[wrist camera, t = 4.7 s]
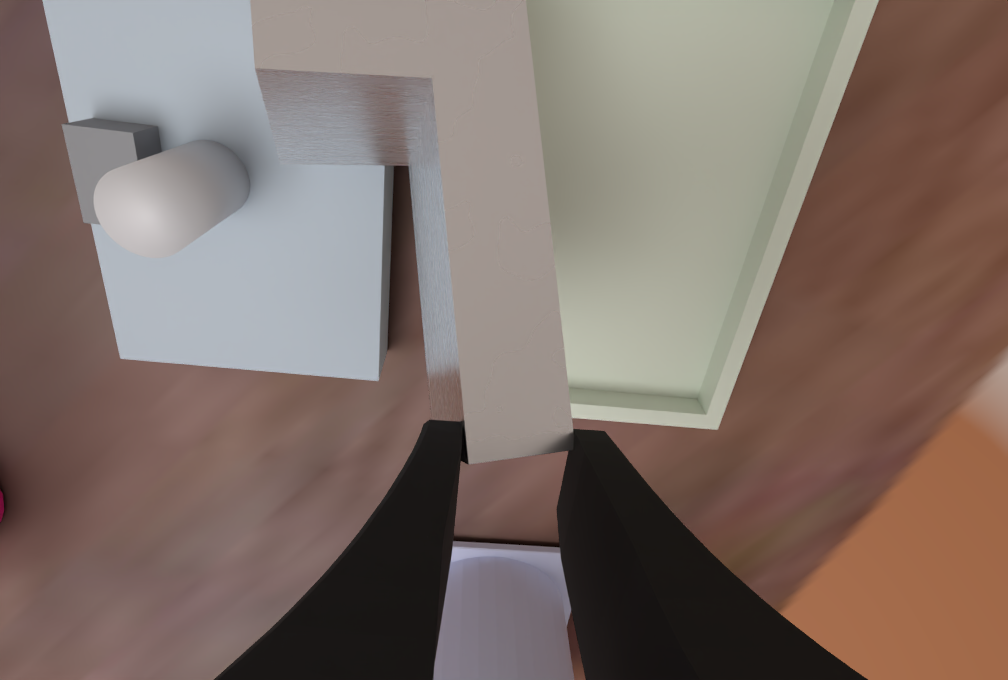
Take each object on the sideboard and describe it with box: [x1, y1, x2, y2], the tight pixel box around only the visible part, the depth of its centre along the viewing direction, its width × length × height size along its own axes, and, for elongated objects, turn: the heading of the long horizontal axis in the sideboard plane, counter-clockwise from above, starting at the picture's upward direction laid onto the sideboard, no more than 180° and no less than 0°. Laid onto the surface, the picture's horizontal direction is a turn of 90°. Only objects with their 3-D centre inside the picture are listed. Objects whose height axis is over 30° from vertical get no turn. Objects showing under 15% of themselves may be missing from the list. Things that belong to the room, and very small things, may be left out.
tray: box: [526, 0, 879, 430], centre depth 17 cm, size 14×10×2 cm
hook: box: [250, 0, 574, 464], centre depth 12 cm, size 9×5×4 cm
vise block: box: [43, 0, 394, 381], centre depth 15 cm, size 12×8×6 cm, turn 173°
